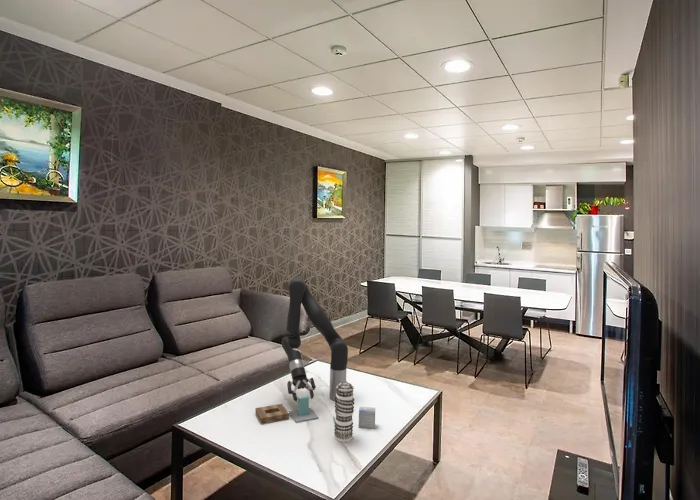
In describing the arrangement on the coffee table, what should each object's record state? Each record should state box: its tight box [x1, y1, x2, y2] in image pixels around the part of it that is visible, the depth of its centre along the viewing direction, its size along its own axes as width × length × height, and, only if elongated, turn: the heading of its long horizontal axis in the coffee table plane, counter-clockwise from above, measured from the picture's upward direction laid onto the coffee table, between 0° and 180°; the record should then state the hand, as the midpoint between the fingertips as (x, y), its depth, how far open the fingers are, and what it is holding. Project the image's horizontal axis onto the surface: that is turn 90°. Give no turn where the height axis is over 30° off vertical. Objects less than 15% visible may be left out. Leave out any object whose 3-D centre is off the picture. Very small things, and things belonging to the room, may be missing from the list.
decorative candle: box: [333, 381, 355, 443], centre depth 193 cm, size 9×9×25 cm
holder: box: [254, 403, 290, 425], centre depth 211 cm, size 14×12×3 cm
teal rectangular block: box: [297, 395, 310, 416], centre depth 213 cm, size 5×2×9 cm, turn 116°
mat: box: [287, 407, 319, 424], centre depth 213 cm, size 12×12×1 cm
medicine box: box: [358, 406, 376, 429], centre depth 204 cm, size 8×4×9 cm, turn 84°
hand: (304, 399), depth 212 cm, fingers open, 8 cm apart
